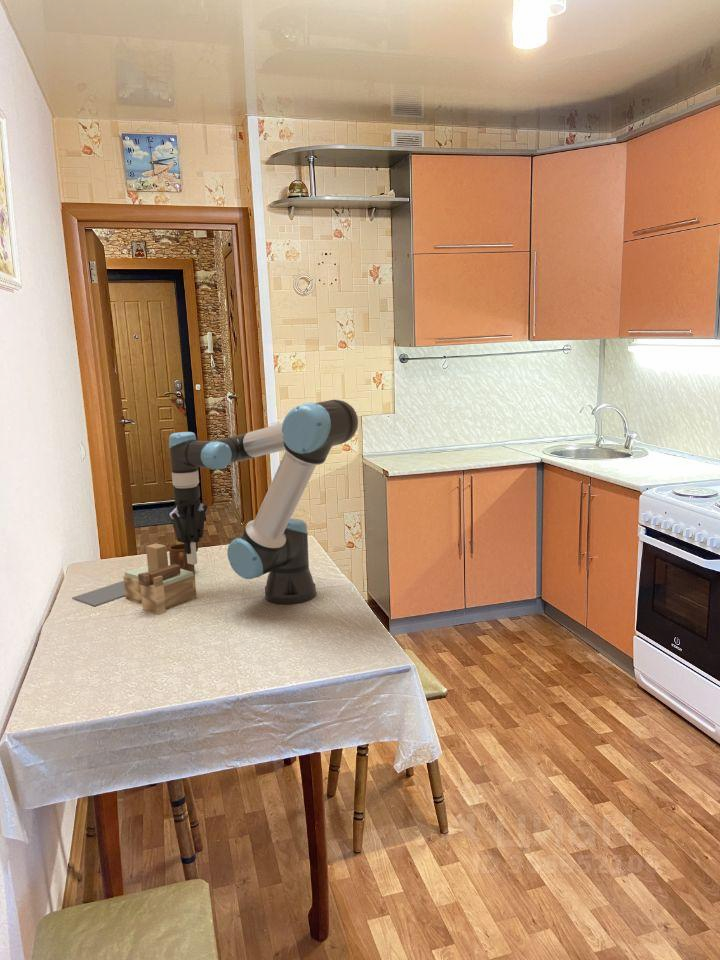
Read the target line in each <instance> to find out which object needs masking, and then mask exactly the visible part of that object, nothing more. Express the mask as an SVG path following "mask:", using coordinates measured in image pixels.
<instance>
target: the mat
mask: <svg viewBox="0 0 720 960" xmlns="http://www.w3.org/2000/svg"><path fill="white" fill-rule="evenodd" d="M121 598H125V587H124V580H122V581H118V582H115V583H113V584H109V585H105V586H104V587H100V588H97V589H95V590H91V591H88V592H85V593H82V594H79V595H75V596H72V597H71V599H72V600H75V601H78V602H80V603H83V604H85V605H89V606H92V607H94V608H95V607H98V606H101V605H103V604H107V603H110V602H112V601H115V599H116V600H118V599H121Z"/></svg>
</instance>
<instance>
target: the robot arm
mask: <svg viewBox="0 0 720 960" xmlns="http://www.w3.org/2000/svg"><path fill="white" fill-rule="evenodd" d="M358 427H359V417H358V415H357V411H356V410H355V409H354V407H353V406H352V405H351V404H349V403H348V402H346V401H344V400H342V399H341V400H340V399H331V400H330V399H329V400H324V401H319V402H306V403H302V404H300V405H298V406H294V407H293V408H292V409H290V410H289V411H288V412H287V414H286V415H285V416H284V419H283V421H282V422H280V423H278V424H274V425H270V426H268V427H267V426H266V427H263V428H259V429H256V430H251V431H249V432H246V433H245V432H244V433H242V434H239V435H238V434H237V435H234V436H229V437H224V438H218V439H211V440H198V439H197V437H196V434H195V432H192V431H181V432H173V433H171V434H170V435H169V436H168V437H169V438H168V446H169V447H168V450H169V456H170V457H169V458H170V466H171V467H170V469H171V478H172V479H171V480H172V481H171V483H172V485H173V487H172V492H173V493H172V494H173V499H174V502H175V503H174V505H173V507H174V509H173V510H172V511H171V512H168V513H167V517H168V518H169V519H170V520H171V523H172V526H173V530H174V534H175V536H176V537H175V538H176V540H177V542H179V543H181V544H184V550H185V554H187V563H188V564H192V565H194V566H195V565H196V564H198V556H197V555H198V554H197V552H198V550H199V548H198V543H199V542H200V540H201V539H202V538H203V537H204V527H205V519H206V513H207V511H208V505H206V504H203V503H201V500H200V497H201V490H200V489H201V488H200V486H199V483H200V479H199V478H200V475H199V468H203V469H205V468H206V469H211V470H216V469H218V470H221V469H225V468H226V467H227V466H228V465H229V464H234V463H237V462H244V461H248V460H252V459H255V458H257V457H262V456H266V455H270V454H275V453H278V452H282V451H285V452H284V454H283V456H282V458H281V461H280V463H279V465H278V467H277V470H276V472H275V474H274V476H273V479H272V480H271V483H270V485H269V487H268V490H267V492H266V494H265V496H264V498H263V501H262V503H261V505H260V507H259V509H258V512H257V514H256V516H255V518H254V519H252V520H250V521H248V522H247V523H246V525H245V527H244V529H243V531H242V533H241V535H240V537H237V538H234V539H233V540H232V541H231V542H230V543H229V544H228V546H227V559H228V562H229V565H230V566H231V568H232V570H233V571H234V572H235V574H236V575H237V576H239V577H241V578H243V579H245V580H252V579H255V578H260V577H262V576H264V575H265V574H268V575H267V579H266V585H265V587H264V598H265V600H266V601H267V602H270V603H273V604H281V605H289V604H290V605H291V604H300V603H303V602H308V601H309V600H312V599H313V598H315V597H316V595H317V586H316V583H315V582H314V579H313V576H312V573H311V571H310V565H309V564H310V563H309V562H310V561H309V542H308V539H309V537H308V534H309V533H308V526H307V522H305V521H304V520H302V519H298V518H294V517H293V515H294V512H295V510H296V508H297V507H298V504H299V502H300V501H301V498H302V496H303V494H304V492H305V490H306V487H307V486H308V484H309V481H310V479H311V477H312V475H313V473H314V472H315V469H316V467H317V466H319V465H322V464H324V463H325V462H326V459H327V457H328V455H329V454H330V451H331V450H332V448H333V447H335V446H338V445H342V444H345V443H347V442H348V441H350V440H351V439H353V437H354V436H355V434H356V433H357V431H358ZM292 517H293V518H292Z"/></svg>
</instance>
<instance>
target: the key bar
mask: <svg viewBox="0 0 720 960" xmlns="http://www.w3.org/2000/svg"><path fill="white" fill-rule="evenodd" d="M180 573H181V571H180V565H177V564H173V565H170V564H169V565H168V566H166V567H163V568H160V569H157V570H154V571H151V572H148V573H146V574H145V573H140V574H138V580H139V585H143V586H146V587H147V586H150V585H151V584H150V583H153V578H155V577H158V576H163V579H166V578H169V577H172V576H175V575H177V574H180Z"/></svg>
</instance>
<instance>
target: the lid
mask: <svg viewBox="0 0 720 960" xmlns="http://www.w3.org/2000/svg"><path fill="white" fill-rule="evenodd" d="M167 548H168V547H167V545H165V544H160V543H156V542H155V543H152V544H149V545H146V546H145V551H146V560H147V564H146V565H143V566H140V567H137V568H134V569H130V570H126V571H124V576H126V577H130V578H133V579H137V580H138V574H140V573H145V572H151V571H154V570H157V569H160V568H163V567H166V566H169V559H168V549H167ZM180 571H181V573H180V574H177V575H175V576H172V577H169V578H166V579H163V586H166V585H169V584H172V583H175V582H177V581H180V580H183V579H186V578H189V577H192V576H193V575H194V574H193V572H191V571H187V570H183V569H180Z"/></svg>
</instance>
